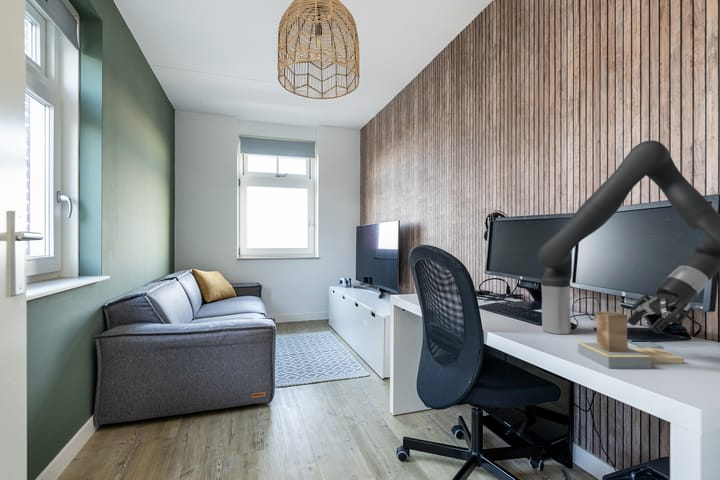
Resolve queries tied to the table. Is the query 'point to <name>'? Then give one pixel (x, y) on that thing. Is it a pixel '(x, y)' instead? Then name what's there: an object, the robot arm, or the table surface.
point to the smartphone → (645, 344)
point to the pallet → (659, 355)
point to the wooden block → (612, 331)
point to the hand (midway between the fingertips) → (641, 326)
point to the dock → (614, 357)
